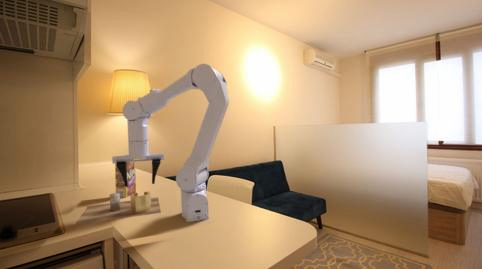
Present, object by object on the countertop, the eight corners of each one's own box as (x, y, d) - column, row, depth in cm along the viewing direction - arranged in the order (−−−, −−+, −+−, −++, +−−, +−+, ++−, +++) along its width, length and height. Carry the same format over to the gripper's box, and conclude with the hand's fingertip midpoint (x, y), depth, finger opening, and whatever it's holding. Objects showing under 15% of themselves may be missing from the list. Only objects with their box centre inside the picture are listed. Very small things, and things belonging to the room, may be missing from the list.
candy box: (127, 201, 88) (125, 160, 87) (115, 202, 88) (113, 160, 87) (137, 194, 97) (135, 157, 96) (126, 195, 97) (124, 157, 96)
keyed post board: (161, 217, 72) (160, 195, 72) (74, 230, 64) (73, 206, 63) (158, 201, 88) (157, 183, 87) (88, 210, 79) (87, 191, 79)
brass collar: (151, 211, 73) (150, 195, 73) (130, 214, 71) (129, 197, 70) (151, 206, 78) (150, 190, 78) (131, 208, 76) (130, 193, 75)
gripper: (162, 139, 80) (163, 179, 81) (113, 141, 75) (115, 184, 75) (163, 140, 73) (165, 184, 74) (110, 142, 68) (112, 189, 69)
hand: (140, 184), depth 74 cm, fingers open, 7 cm apart
